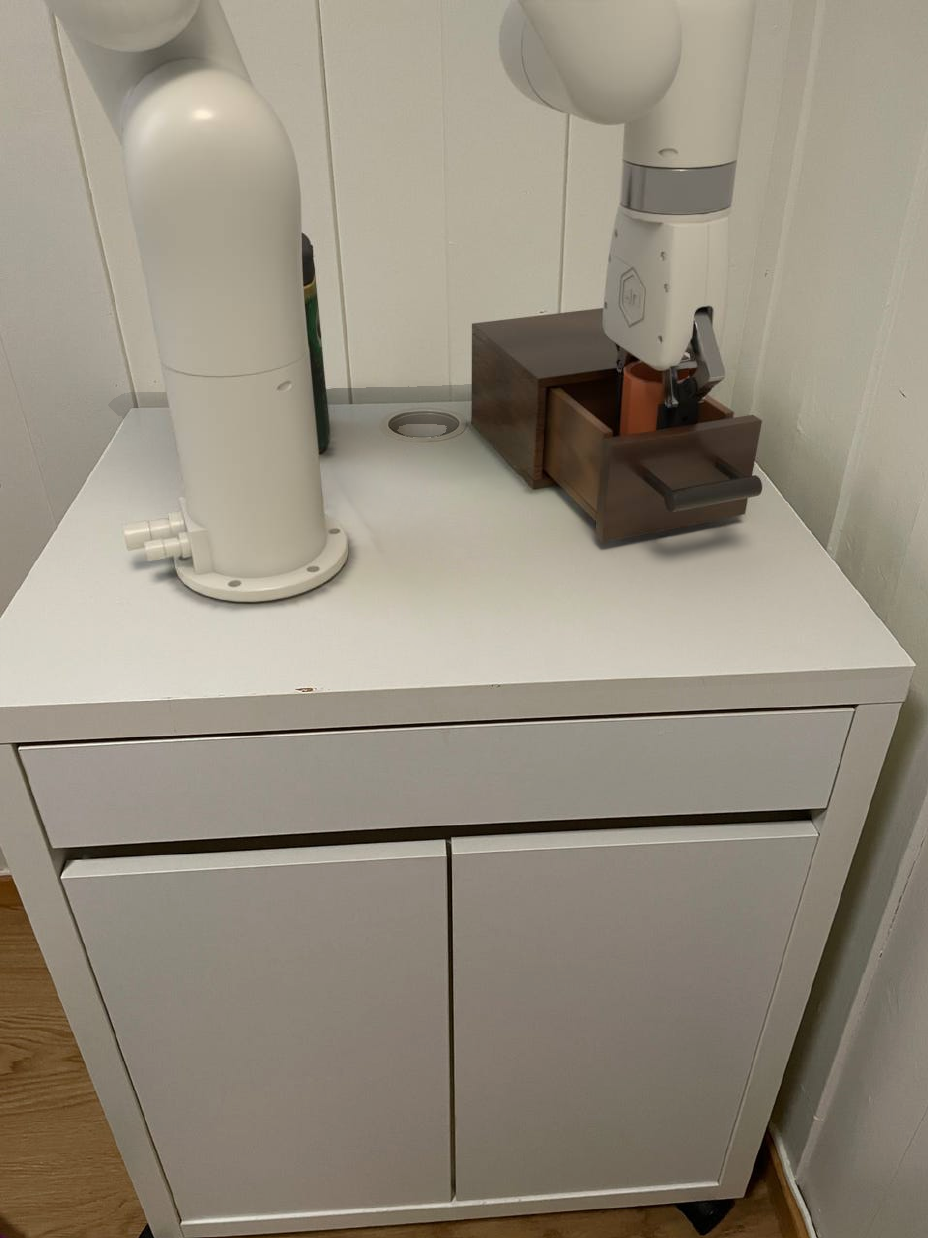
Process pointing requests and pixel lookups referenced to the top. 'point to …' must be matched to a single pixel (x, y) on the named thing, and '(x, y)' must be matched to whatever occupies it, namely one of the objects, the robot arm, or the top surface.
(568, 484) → the drawer
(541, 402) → the cabinet
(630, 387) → the cup
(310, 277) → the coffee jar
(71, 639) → the top surface
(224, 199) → the robot arm
